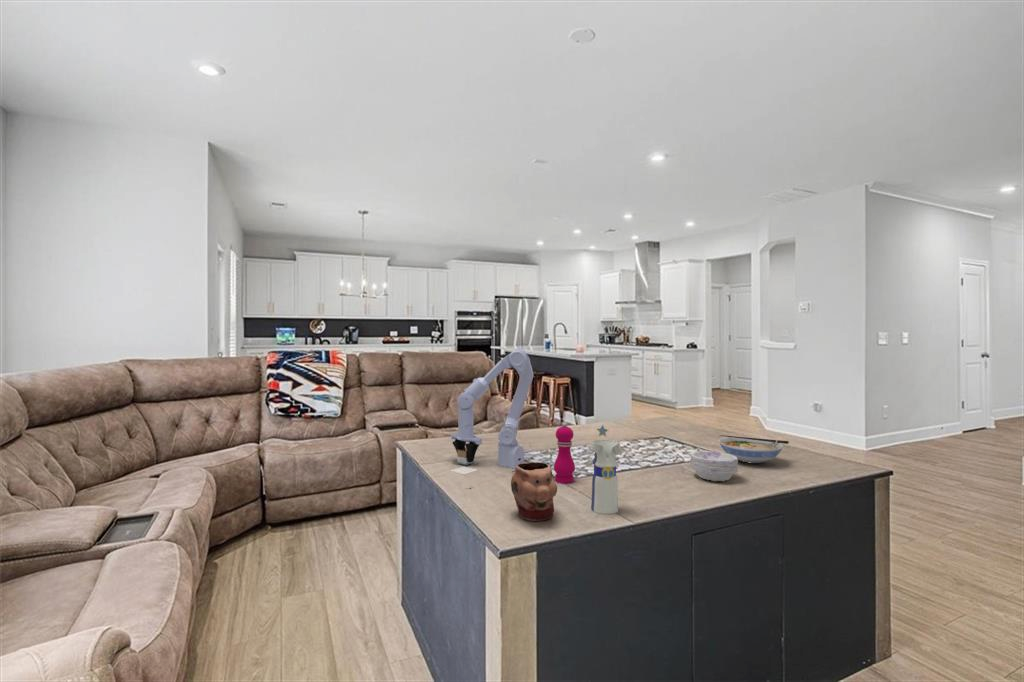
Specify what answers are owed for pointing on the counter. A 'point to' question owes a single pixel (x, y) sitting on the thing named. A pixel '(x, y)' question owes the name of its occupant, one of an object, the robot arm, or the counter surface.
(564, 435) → the pepper mill
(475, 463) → the stand
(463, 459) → the block
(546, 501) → the decorative planter
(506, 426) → the robot arm
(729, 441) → the ramen bowl
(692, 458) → the paper bowls
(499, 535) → the counter surface
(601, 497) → the white figurine with star
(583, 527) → the counter surface
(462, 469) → the stand
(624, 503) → the counter surface
